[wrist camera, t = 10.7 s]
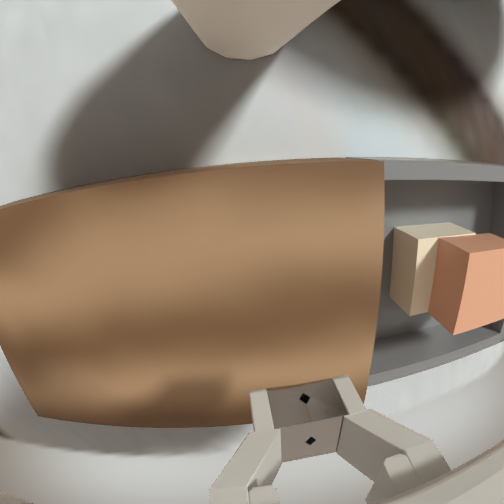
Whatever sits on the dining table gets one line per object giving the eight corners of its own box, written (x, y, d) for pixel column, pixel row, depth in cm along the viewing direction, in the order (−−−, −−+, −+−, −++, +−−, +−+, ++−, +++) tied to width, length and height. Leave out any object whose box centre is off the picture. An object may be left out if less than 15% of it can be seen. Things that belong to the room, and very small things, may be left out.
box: (345, 157, 18) (378, 159, 14) (494, 163, 19) (533, 170, 14) (342, 349, 22) (362, 387, 18) (475, 317, 23) (503, 340, 19)
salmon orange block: (438, 237, 16) (469, 253, 13) (490, 232, 16) (519, 245, 14) (427, 312, 18) (452, 335, 15) (478, 300, 18) (503, 318, 15)
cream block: (475, 233, 16) (449, 222, 19) (418, 239, 16) (393, 226, 19) (465, 302, 18) (442, 286, 21) (409, 316, 18) (389, 296, 20)
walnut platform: (15, 201, 17) (-39, 220, 11) (338, 157, 18) (384, 161, 12) (66, 368, 21) (38, 415, 16) (336, 351, 22) (363, 404, 17)
